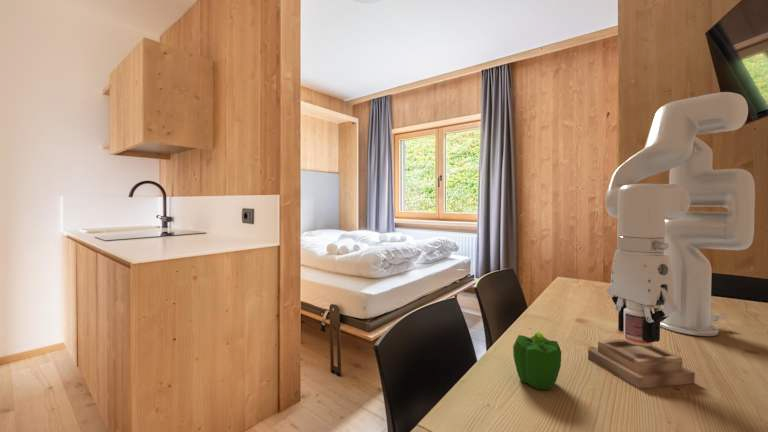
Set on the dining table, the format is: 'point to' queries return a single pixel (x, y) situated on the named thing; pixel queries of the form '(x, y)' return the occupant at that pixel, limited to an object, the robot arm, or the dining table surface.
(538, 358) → the bell pepper
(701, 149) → the robot arm
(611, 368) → the plinth
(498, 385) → the dining table surface
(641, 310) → the pill bottle
